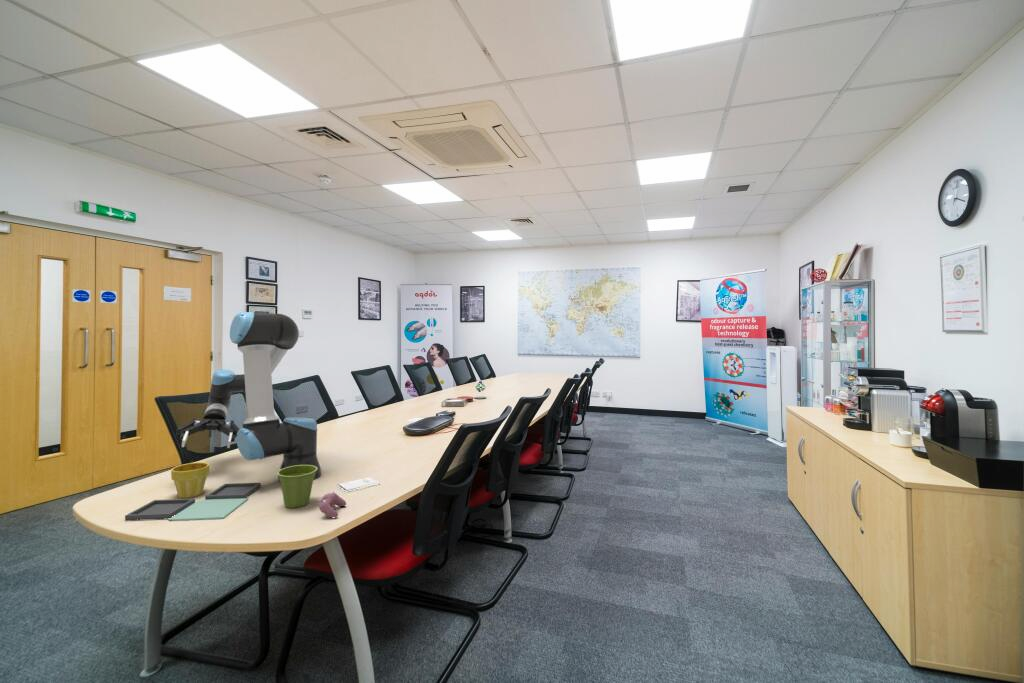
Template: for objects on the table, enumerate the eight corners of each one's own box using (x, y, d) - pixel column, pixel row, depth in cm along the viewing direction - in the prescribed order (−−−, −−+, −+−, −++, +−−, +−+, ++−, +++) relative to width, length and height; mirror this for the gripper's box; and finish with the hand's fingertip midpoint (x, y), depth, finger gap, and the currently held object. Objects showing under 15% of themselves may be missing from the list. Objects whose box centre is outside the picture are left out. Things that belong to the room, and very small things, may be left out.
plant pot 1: (188, 501, 136) (188, 472, 136) (162, 499, 138) (163, 469, 138) (216, 490, 146) (216, 463, 146) (192, 488, 148) (192, 461, 148)
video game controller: (335, 511, 135) (325, 492, 134) (348, 504, 135) (338, 485, 135) (324, 524, 125) (313, 504, 124) (338, 517, 125) (327, 497, 125)
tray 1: (194, 503, 135) (195, 498, 135) (169, 518, 123) (169, 513, 123) (154, 504, 134) (154, 500, 134) (124, 520, 122) (125, 515, 122)
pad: (248, 499, 139) (248, 498, 139) (223, 518, 124) (223, 517, 124) (199, 501, 137) (199, 499, 137) (168, 521, 122) (168, 519, 122)
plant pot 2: (271, 513, 129) (271, 476, 129) (283, 498, 140) (283, 465, 140) (312, 510, 131) (312, 474, 131) (320, 496, 143) (321, 463, 143)
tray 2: (260, 486, 151) (260, 482, 151) (244, 499, 139) (244, 494, 139) (225, 487, 149) (225, 483, 149) (205, 500, 137) (205, 496, 137)
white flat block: (337, 488, 152) (370, 480, 161) (346, 494, 147) (379, 486, 155) (337, 483, 152) (370, 476, 161) (346, 489, 147) (379, 481, 155)
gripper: (249, 426, 175) (245, 453, 158) (175, 423, 163) (161, 452, 145) (252, 410, 174) (248, 436, 156) (177, 405, 161) (164, 433, 143)
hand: (206, 444), depth 151 cm, fingers open, 13 cm apart
